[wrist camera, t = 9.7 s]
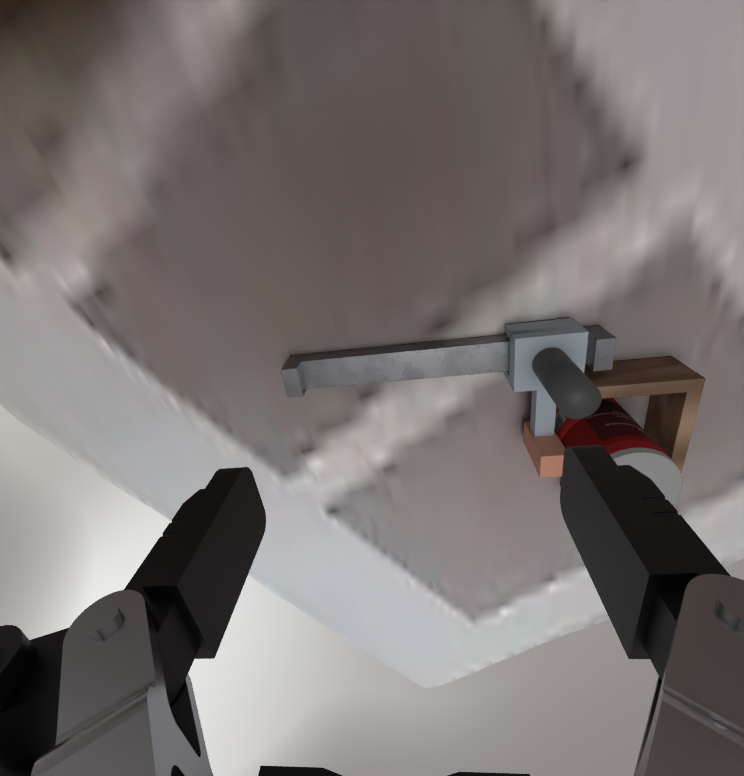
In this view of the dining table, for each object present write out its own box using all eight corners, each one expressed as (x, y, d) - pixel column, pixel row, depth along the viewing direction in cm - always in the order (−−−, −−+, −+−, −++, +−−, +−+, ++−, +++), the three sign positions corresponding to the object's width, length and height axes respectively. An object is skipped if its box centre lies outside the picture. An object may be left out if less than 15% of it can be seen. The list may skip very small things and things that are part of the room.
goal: (570, 364, 40) (591, 387, 36) (671, 355, 39) (705, 378, 35) (560, 484, 47) (576, 516, 43) (645, 480, 46) (671, 512, 41)
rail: (290, 355, 42) (280, 370, 39) (598, 324, 38) (616, 338, 35) (296, 381, 43) (287, 397, 40) (595, 354, 40) (612, 369, 36)
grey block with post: (505, 324, 39) (538, 373, 29) (571, 318, 38) (629, 365, 28) (504, 437, 44) (531, 509, 35) (561, 433, 43) (606, 505, 34)
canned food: (556, 461, 46) (597, 538, 36) (533, 405, 43) (571, 472, 33) (628, 437, 44) (692, 511, 34) (608, 376, 41) (673, 438, 31)
